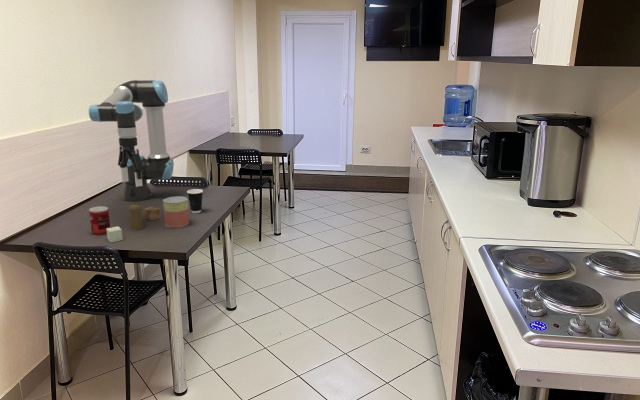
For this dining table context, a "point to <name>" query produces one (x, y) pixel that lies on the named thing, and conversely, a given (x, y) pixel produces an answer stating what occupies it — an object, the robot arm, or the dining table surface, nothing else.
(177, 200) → the canned food
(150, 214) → the walnut cube
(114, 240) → the sage cube
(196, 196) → the dixie cup
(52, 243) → the dining table surface
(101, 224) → the canned food
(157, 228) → the dining table surface
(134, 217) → the cork
